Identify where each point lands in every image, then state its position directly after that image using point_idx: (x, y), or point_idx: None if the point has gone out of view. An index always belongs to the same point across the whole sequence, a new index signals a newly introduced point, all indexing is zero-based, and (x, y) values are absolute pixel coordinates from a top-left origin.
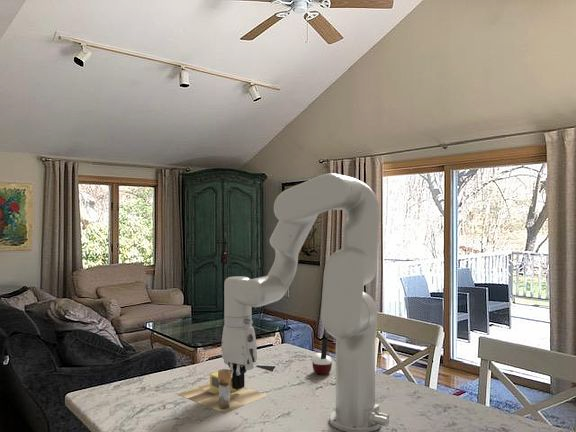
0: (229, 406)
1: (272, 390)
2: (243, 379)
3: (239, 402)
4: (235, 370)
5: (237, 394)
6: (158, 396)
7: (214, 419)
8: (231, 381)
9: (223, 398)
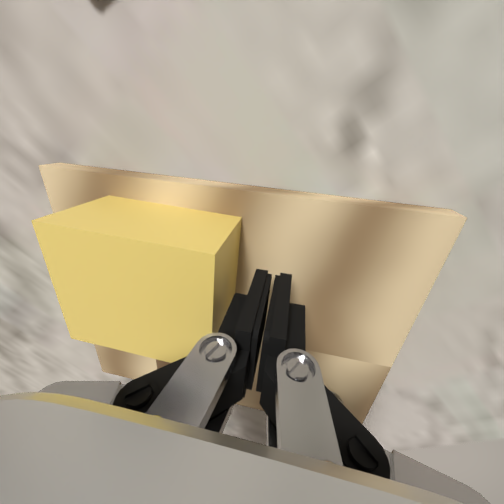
0: (342, 402)
1: (405, 42)
2: (304, 333)
3: (352, 358)
4: (232, 401)
5: None
6: (69, 364)
7: None
8: (219, 322)
9: None
